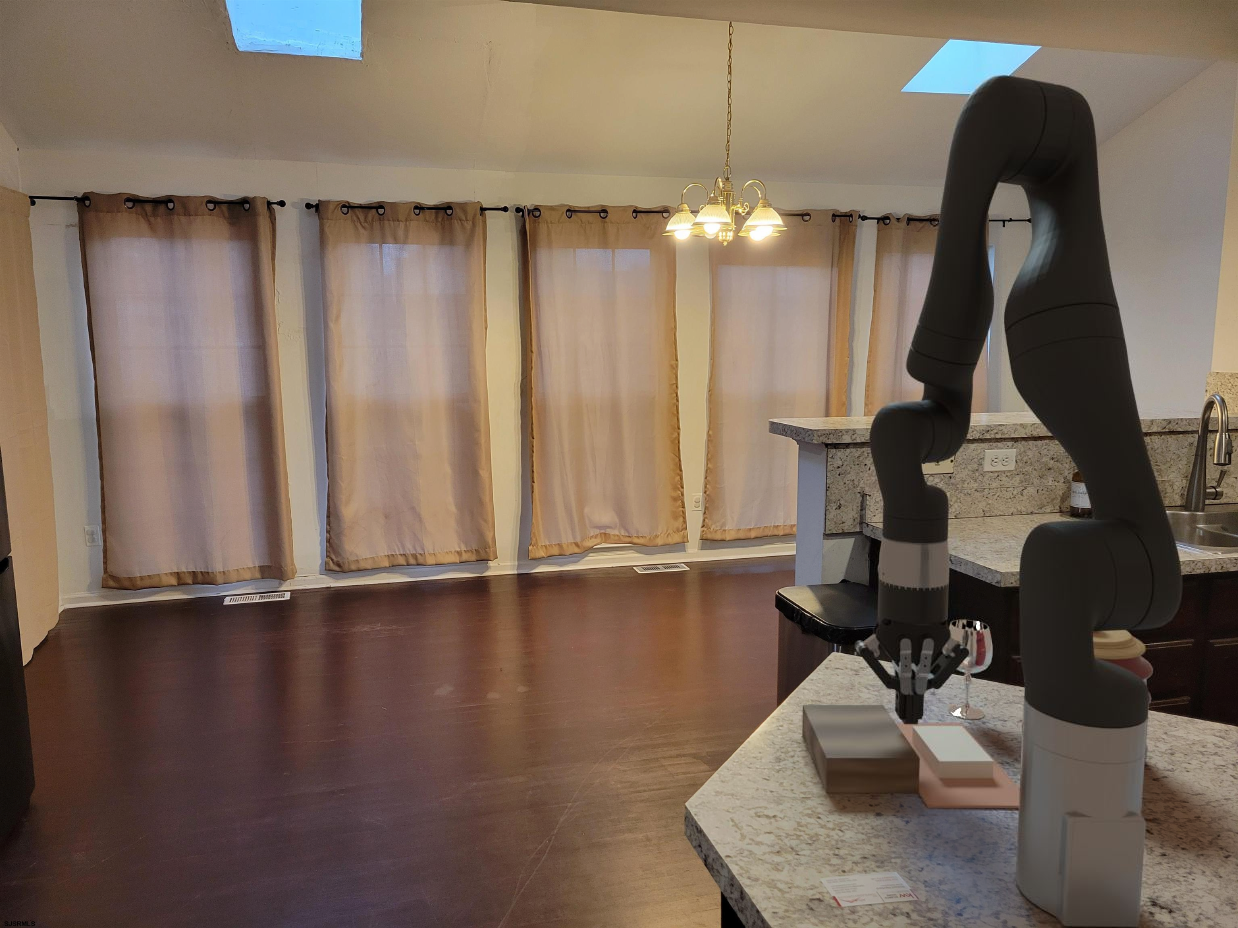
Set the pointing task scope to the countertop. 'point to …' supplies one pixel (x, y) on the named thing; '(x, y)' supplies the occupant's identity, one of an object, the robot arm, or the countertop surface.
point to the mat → (963, 783)
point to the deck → (859, 749)
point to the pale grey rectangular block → (952, 752)
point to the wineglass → (971, 660)
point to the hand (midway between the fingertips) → (909, 721)
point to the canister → (1122, 654)
